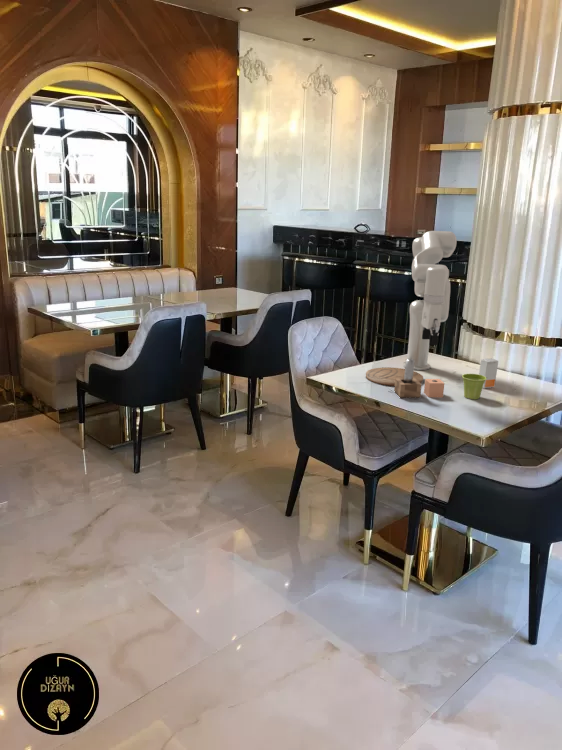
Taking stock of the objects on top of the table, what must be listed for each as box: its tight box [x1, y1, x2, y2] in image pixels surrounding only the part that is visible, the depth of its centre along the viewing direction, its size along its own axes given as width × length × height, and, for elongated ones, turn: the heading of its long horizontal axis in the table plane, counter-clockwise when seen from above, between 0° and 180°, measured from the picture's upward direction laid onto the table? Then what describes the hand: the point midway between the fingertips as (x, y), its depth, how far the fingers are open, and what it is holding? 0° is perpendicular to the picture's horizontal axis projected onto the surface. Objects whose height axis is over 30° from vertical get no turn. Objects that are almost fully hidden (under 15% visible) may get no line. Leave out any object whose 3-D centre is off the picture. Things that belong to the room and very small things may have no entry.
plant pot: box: [461, 373, 487, 400], centre depth 249 cm, size 9×9×9 cm
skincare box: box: [478, 357, 499, 389], centre depth 263 cm, size 6×4×12 cm
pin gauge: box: [404, 358, 415, 383], centre depth 248 cm, size 3×3×14 cm
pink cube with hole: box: [423, 378, 445, 398], centre depth 251 cm, size 6×6×6 cm
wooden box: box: [393, 378, 422, 399], centre depth 250 cm, size 8×8×6 cm
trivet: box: [365, 366, 424, 387], centre depth 272 cm, size 25×25×2 cm
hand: (429, 342), depth 245 cm, fingers open, 9 cm apart
